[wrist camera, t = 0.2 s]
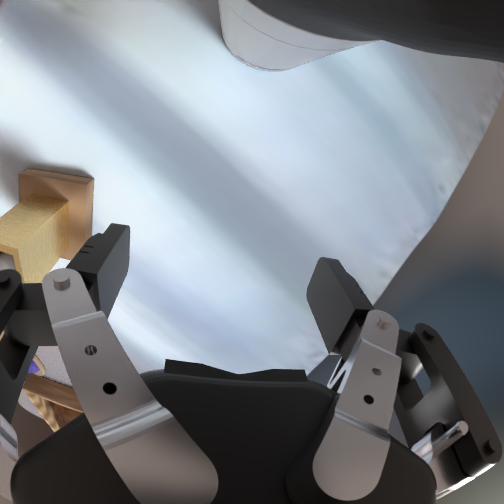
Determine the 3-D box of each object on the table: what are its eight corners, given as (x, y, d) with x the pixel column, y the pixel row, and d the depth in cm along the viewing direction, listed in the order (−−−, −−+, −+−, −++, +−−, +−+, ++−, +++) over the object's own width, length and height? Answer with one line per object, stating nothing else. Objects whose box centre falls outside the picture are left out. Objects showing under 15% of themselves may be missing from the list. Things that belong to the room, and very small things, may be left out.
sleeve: (31, 193, 24) (-22, 236, 16) (69, 200, 25) (17, 249, 17) (34, 235, 27) (-10, 285, 18) (70, 245, 28) (29, 300, 20)
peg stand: (27, 168, 24) (-43, 214, 13) (94, 178, 26) (28, 235, 16) (32, 239, 29) (-20, 300, 18) (92, 255, 31) (48, 328, 20)
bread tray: (29, 371, 45) (22, 387, 41) (154, 410, 52) (152, 429, 48) (61, 424, 61) (58, 436, 57) (154, 450, 68) (153, 463, 64)
